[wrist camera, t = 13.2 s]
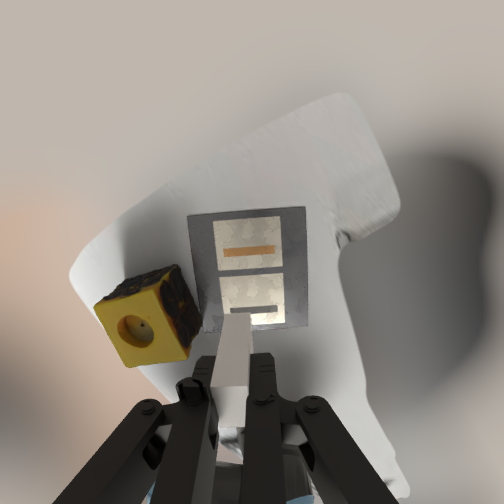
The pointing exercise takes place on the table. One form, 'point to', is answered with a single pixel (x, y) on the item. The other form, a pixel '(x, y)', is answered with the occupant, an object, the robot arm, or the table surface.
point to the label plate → (251, 267)
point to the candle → (151, 318)
